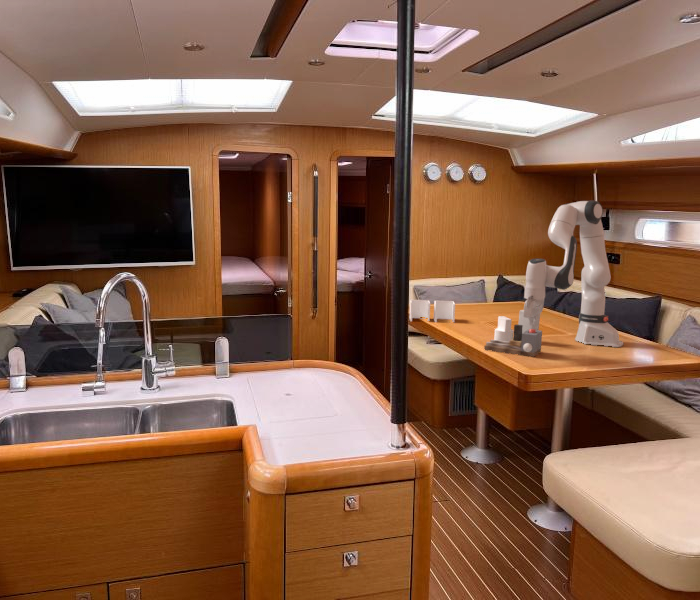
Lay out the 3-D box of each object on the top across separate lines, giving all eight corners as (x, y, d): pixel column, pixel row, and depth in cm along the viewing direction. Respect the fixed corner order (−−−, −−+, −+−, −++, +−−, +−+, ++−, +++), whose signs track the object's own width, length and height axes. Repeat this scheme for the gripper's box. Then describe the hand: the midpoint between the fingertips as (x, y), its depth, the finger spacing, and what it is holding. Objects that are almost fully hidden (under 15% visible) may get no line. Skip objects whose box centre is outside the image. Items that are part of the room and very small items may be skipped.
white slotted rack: (452, 319, 365) (453, 301, 364) (454, 323, 355) (455, 304, 353) (409, 318, 367) (410, 299, 365) (410, 321, 356) (410, 302, 354)
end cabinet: (540, 351, 289) (542, 330, 288) (533, 357, 279) (535, 335, 277) (527, 350, 292) (529, 329, 291) (520, 355, 282) (521, 333, 280)
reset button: (535, 336, 285) (536, 329, 285) (534, 337, 283) (534, 330, 282) (529, 335, 286) (530, 328, 286) (528, 336, 284) (528, 329, 284)
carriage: (524, 343, 291) (526, 324, 289) (520, 346, 284) (521, 327, 282) (514, 342, 293) (515, 323, 292) (509, 345, 286) (510, 326, 285)
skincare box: (516, 341, 311) (518, 310, 309) (524, 339, 316) (526, 309, 313) (530, 344, 305) (533, 312, 303) (538, 342, 309) (540, 311, 307)
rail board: (540, 351, 289) (541, 345, 289) (533, 357, 279) (534, 350, 279) (492, 345, 301) (492, 338, 300) (484, 349, 291) (484, 343, 290)
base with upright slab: (515, 343, 306) (517, 319, 304) (498, 343, 304) (500, 319, 302) (507, 339, 315) (509, 316, 313) (491, 339, 313) (492, 316, 311)
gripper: (535, 298, 271) (532, 329, 273) (547, 293, 289) (544, 322, 291) (520, 296, 274) (518, 327, 277) (533, 291, 292) (531, 320, 294)
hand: (532, 324), depth 284 cm, fingers closed
